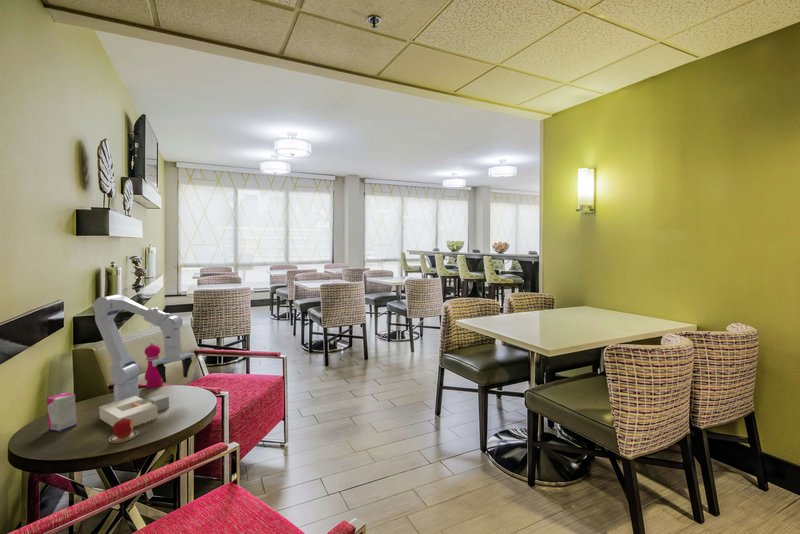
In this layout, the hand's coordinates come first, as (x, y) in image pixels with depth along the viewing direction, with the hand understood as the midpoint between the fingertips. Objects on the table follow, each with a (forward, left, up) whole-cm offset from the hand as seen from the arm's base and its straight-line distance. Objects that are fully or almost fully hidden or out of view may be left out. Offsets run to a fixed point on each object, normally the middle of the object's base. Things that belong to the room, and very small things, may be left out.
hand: (174, 379), depth 160 cm
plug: (0, -6, -10) cm, 11 cm away
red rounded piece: (+14, -24, -10) cm, 30 cm away
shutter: (0, -14, -9) cm, 17 cm away
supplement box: (-12, -33, -10) cm, 36 cm away
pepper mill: (-28, +4, -10) cm, 30 cm away
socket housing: (0, -17, -10) cm, 19 cm away
